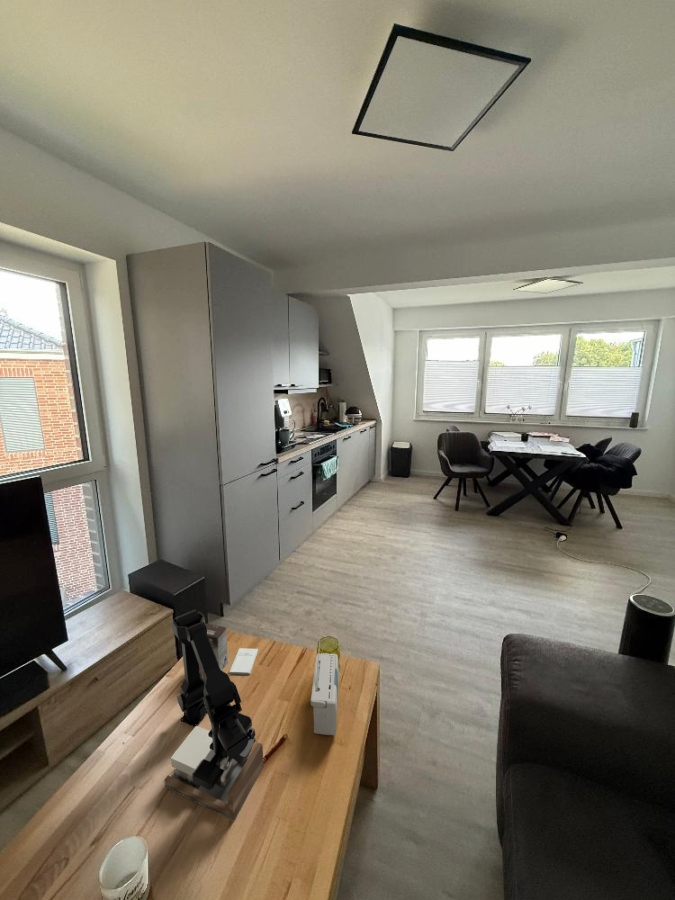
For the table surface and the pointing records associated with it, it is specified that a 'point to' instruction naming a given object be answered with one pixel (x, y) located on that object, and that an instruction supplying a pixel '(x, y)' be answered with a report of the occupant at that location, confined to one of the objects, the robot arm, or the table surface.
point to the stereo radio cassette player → (325, 693)
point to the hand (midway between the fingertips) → (226, 771)
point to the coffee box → (218, 643)
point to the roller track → (231, 794)
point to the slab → (193, 751)
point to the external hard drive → (243, 661)
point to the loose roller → (227, 770)
